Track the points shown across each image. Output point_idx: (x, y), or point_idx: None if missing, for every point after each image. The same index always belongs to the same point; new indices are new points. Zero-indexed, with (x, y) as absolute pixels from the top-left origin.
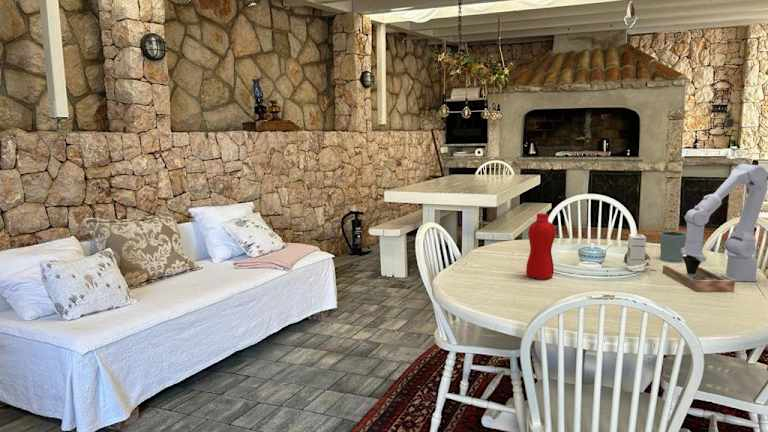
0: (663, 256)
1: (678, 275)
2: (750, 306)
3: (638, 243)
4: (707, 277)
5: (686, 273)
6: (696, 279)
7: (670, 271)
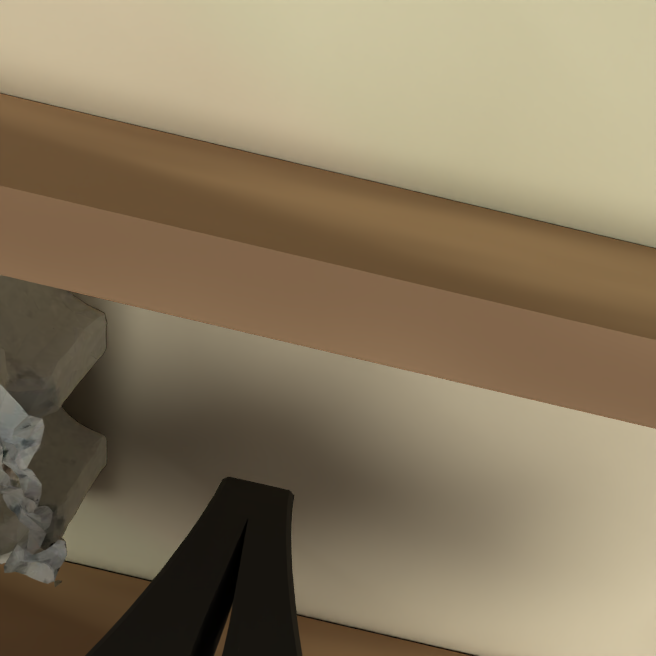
0: None
1: (7, 161)
2: None
3: None
4: None
5: (2, 387)
6: None
7: (500, 273)
